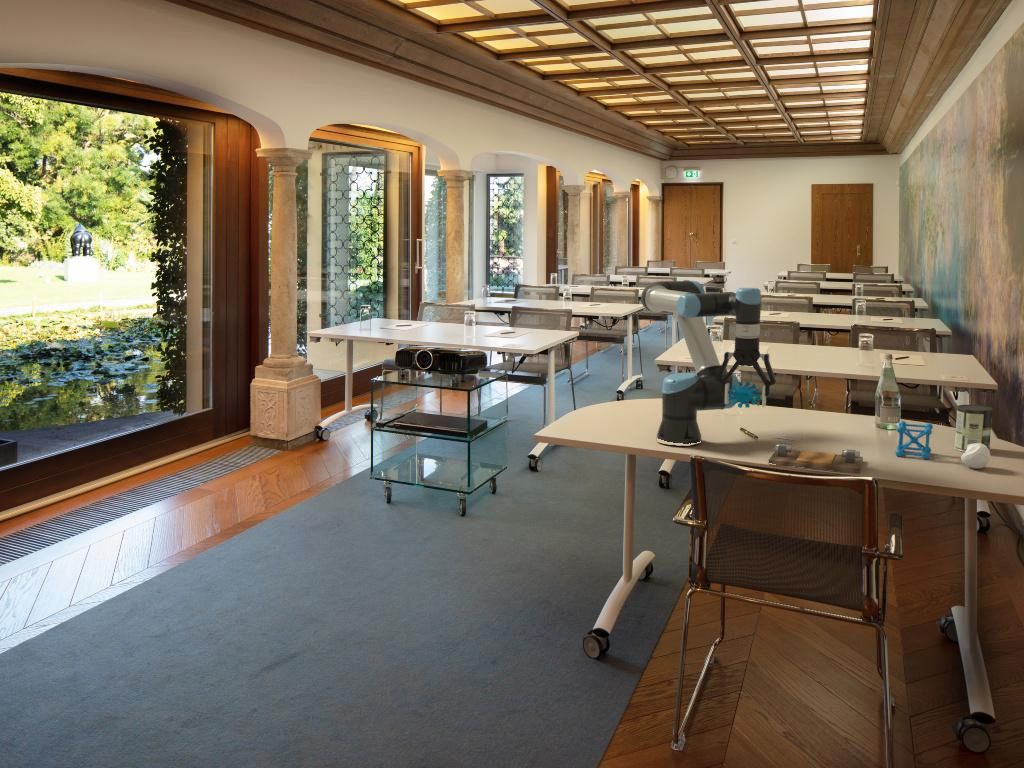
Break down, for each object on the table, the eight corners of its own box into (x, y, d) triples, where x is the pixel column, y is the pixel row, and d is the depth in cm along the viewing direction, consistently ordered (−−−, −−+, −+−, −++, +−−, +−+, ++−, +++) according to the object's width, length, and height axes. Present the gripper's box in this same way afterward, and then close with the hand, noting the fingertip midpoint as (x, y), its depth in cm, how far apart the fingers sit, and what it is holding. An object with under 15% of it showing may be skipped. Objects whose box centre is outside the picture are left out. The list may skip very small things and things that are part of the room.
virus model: (723, 401, 275) (732, 377, 280) (724, 412, 280) (733, 387, 285) (758, 409, 271) (767, 384, 275) (758, 419, 275) (767, 394, 280)
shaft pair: (773, 455, 269) (773, 445, 269) (775, 452, 273) (775, 442, 272) (858, 464, 258) (859, 453, 258) (859, 460, 262) (860, 450, 261)
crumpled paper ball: (963, 463, 263) (965, 438, 262) (991, 467, 258) (993, 442, 257) (957, 469, 257) (959, 444, 256) (986, 473, 252) (988, 447, 251)
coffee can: (979, 445, 284) (982, 404, 281) (996, 453, 274) (999, 410, 271) (947, 446, 284) (951, 404, 282) (963, 454, 274) (966, 410, 271)
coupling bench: (768, 464, 265) (768, 458, 264) (776, 453, 278) (776, 447, 278) (859, 473, 254) (859, 467, 253) (862, 461, 267) (863, 455, 267)
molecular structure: (894, 457, 272) (896, 426, 270) (897, 449, 280) (899, 420, 279) (929, 460, 267) (932, 429, 265) (931, 453, 276) (933, 422, 274)
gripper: (707, 336, 274) (705, 404, 278) (783, 339, 264) (780, 409, 268) (712, 334, 281) (711, 399, 285) (787, 337, 271) (784, 405, 275)
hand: (745, 404), depth 276 cm, fingers closed on virus model, 11 cm apart
